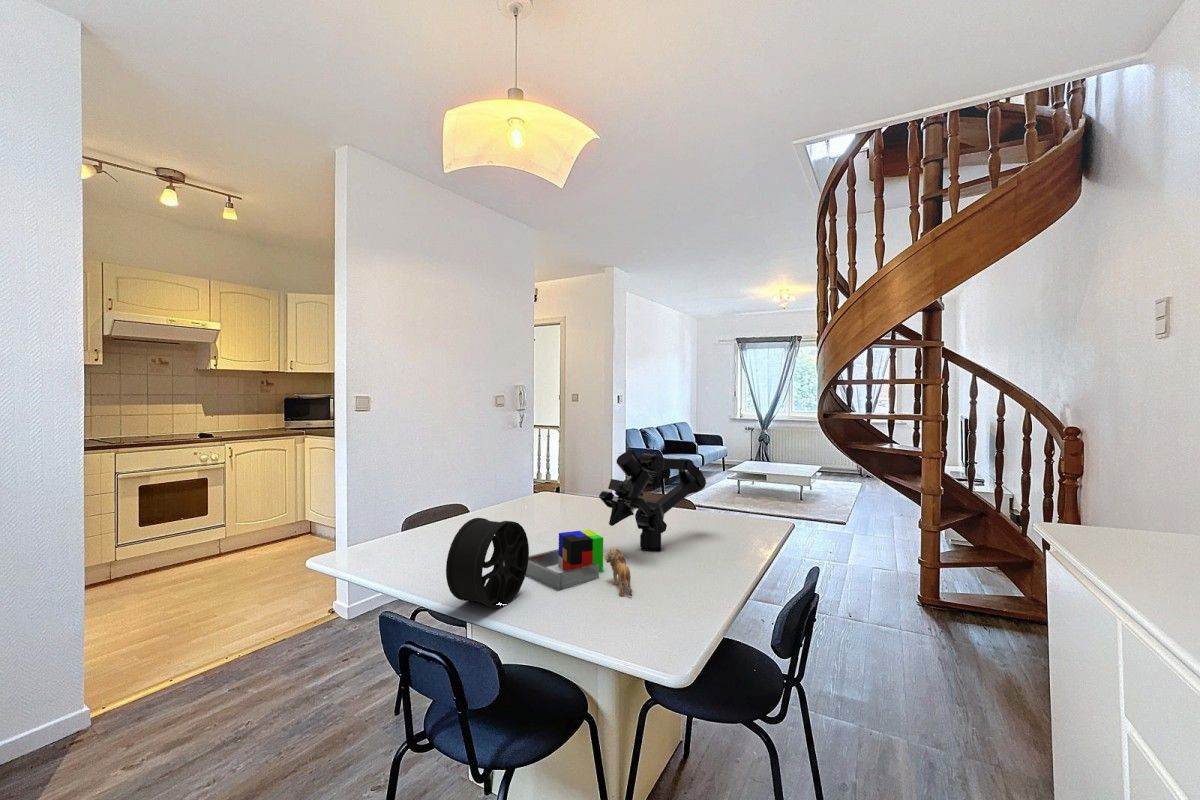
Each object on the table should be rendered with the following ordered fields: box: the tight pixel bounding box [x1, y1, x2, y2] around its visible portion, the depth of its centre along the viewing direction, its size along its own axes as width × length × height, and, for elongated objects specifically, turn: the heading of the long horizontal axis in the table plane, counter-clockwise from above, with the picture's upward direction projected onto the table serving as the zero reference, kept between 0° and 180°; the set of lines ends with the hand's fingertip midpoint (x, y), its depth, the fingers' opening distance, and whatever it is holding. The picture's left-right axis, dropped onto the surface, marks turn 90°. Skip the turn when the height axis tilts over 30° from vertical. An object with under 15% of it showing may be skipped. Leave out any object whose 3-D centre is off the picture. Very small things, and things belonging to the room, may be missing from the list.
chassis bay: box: [525, 548, 600, 591], centre depth 143 cm, size 14×18×4 cm
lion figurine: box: [603, 547, 633, 597], centre depth 133 cm, size 15×5×9 cm, turn 20°
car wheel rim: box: [445, 517, 530, 609], centre depth 124 cm, size 20×10×20 cm, turn 156°
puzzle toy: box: [558, 529, 604, 573], centre depth 148 cm, size 10×10×10 cm
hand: (610, 524), depth 156 cm, fingers closed
